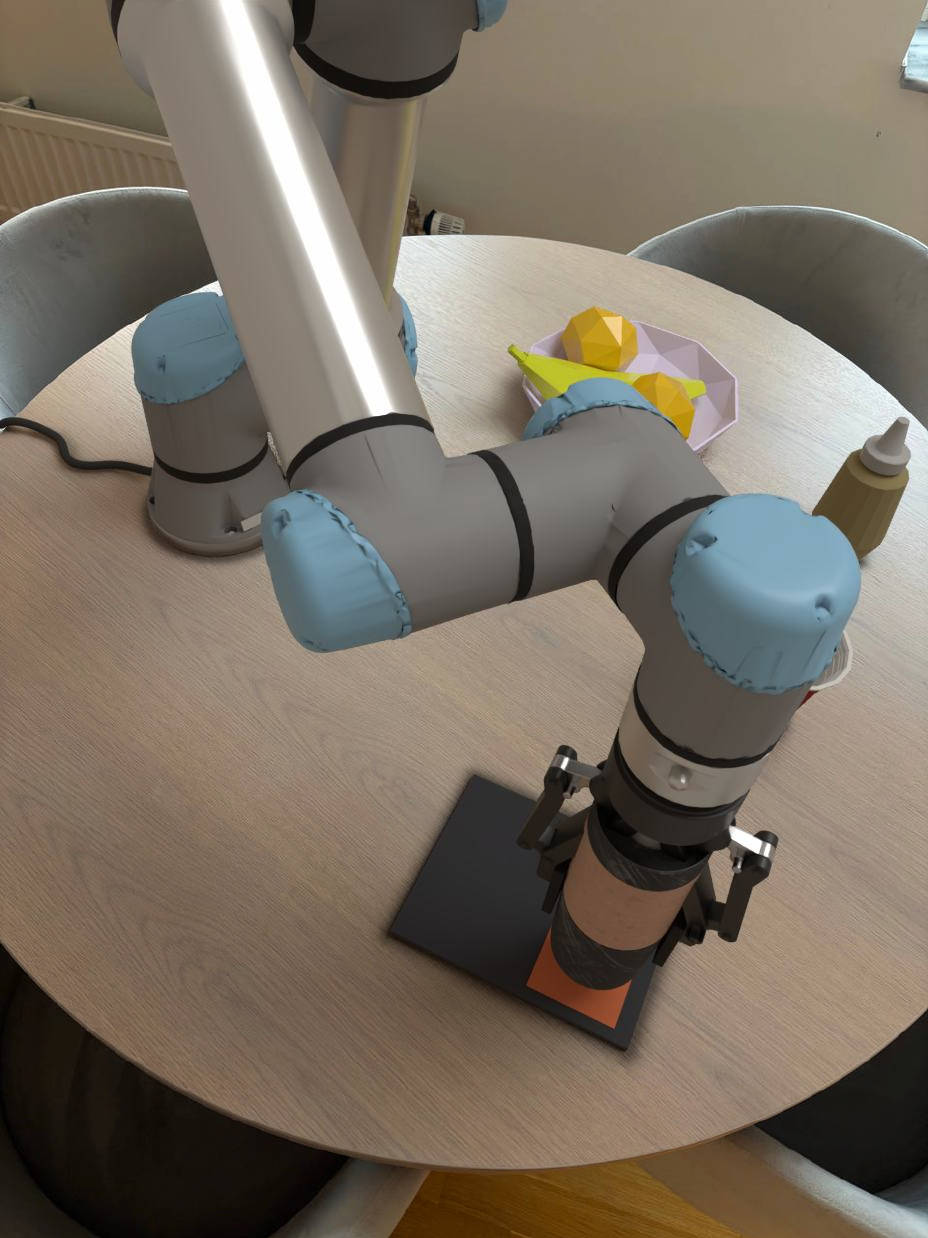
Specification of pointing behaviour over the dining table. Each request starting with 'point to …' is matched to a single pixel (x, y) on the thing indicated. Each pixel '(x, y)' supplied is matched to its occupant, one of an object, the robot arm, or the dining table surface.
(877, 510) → the squeeze bottle
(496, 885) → the mat
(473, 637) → the dining table surface
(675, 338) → the fruit bowl
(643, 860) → the travel mug
